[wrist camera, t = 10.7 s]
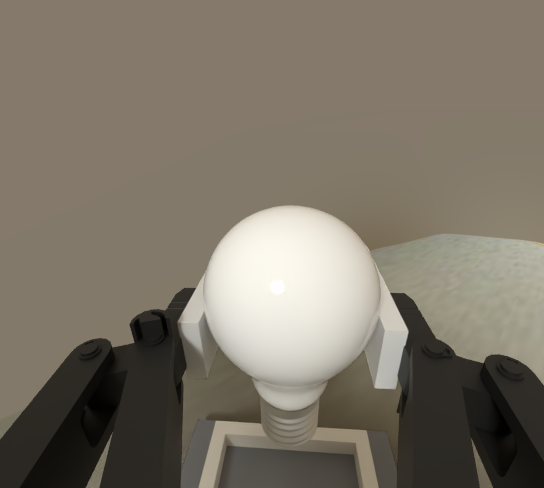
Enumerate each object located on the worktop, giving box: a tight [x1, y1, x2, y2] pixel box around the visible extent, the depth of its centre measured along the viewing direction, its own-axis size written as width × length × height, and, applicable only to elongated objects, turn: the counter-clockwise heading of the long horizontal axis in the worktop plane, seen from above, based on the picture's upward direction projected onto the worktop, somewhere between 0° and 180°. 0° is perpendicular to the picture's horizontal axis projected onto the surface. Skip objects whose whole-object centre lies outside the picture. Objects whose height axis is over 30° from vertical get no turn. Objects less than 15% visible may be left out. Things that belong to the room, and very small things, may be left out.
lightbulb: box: [203, 206, 381, 447], centre depth 12 cm, size 6×6×11 cm
